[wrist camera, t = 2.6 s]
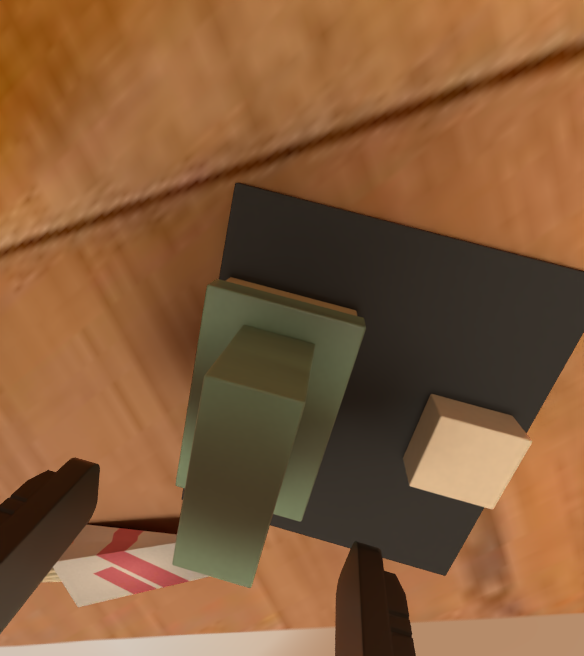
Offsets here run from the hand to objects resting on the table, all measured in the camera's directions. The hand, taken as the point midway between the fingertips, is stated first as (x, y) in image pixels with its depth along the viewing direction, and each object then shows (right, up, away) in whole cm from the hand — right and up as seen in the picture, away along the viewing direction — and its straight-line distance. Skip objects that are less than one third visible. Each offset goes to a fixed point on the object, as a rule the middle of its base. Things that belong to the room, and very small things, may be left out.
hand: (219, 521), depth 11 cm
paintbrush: (-12, -9, +14) cm, 20 cm away
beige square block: (+10, 0, +7) cm, 12 cm away
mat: (+5, +2, +8) cm, 10 cm away
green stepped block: (+1, +3, +7) cm, 8 cm away
